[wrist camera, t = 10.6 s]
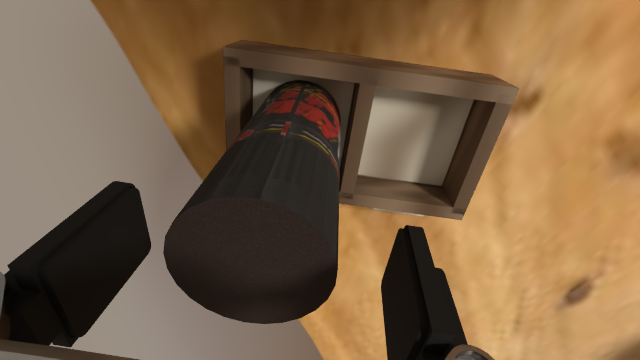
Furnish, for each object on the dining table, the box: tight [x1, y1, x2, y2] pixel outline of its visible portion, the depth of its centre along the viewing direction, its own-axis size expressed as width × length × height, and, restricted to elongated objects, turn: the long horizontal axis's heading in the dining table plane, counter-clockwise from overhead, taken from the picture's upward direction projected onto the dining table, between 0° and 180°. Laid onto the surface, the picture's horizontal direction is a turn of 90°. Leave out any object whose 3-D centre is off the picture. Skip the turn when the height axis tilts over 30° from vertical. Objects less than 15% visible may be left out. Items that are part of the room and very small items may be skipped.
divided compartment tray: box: [223, 40, 519, 220], centre depth 23 cm, size 18×10×4 cm, turn 83°
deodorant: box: [164, 80, 341, 324], centre depth 17 cm, size 6×6×15 cm
